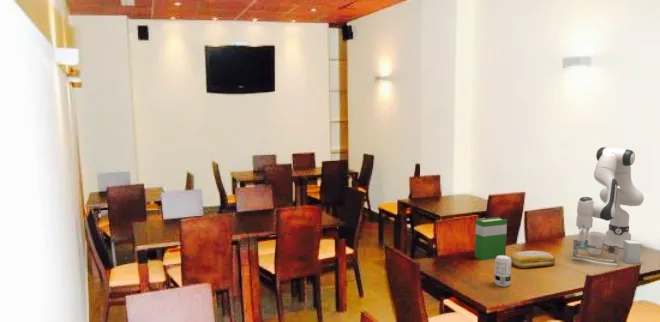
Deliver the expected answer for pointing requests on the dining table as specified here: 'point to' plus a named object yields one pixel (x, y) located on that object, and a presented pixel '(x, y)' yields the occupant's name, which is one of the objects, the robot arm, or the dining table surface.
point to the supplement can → (502, 270)
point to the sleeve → (584, 245)
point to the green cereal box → (490, 238)
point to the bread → (532, 259)
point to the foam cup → (595, 241)
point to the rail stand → (596, 260)
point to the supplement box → (631, 251)
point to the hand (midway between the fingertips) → (582, 245)
